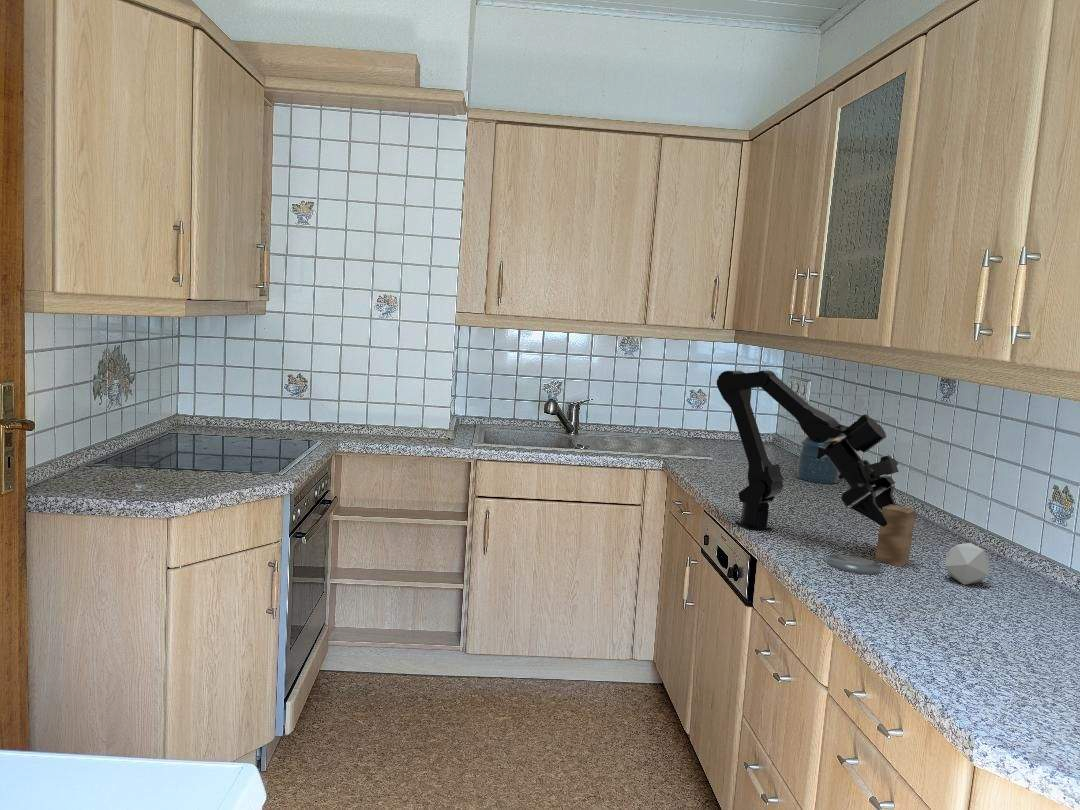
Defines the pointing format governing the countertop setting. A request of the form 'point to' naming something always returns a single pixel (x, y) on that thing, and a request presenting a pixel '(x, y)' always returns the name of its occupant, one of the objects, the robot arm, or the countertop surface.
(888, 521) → the walnut block
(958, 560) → the die
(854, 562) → the slate coaster
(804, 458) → the canister
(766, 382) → the robot arm
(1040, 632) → the countertop surface
